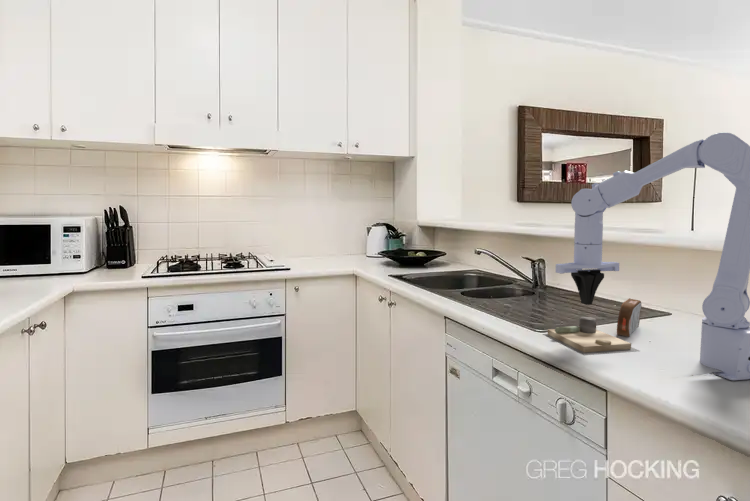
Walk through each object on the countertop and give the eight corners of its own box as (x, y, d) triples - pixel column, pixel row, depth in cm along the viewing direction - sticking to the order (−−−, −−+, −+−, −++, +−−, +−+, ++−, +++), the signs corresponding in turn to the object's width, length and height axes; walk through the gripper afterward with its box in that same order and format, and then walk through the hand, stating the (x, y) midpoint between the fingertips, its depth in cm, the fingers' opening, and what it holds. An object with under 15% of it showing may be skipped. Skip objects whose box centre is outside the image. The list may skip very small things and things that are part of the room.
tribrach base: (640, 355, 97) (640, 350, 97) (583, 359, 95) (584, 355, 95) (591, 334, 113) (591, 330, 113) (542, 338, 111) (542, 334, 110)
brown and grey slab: (628, 327, 120) (629, 295, 119) (642, 329, 118) (643, 296, 117) (614, 340, 108) (616, 305, 107) (630, 343, 106) (631, 307, 105)
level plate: (546, 334, 110) (547, 317, 110) (589, 331, 112) (590, 314, 112) (583, 352, 96) (583, 332, 96) (631, 349, 98) (631, 329, 98)
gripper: (605, 241, 109) (603, 298, 110) (548, 243, 106) (547, 301, 107) (626, 243, 102) (624, 304, 103) (566, 245, 99) (565, 308, 100)
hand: (586, 303), depth 105 cm, fingers closed
